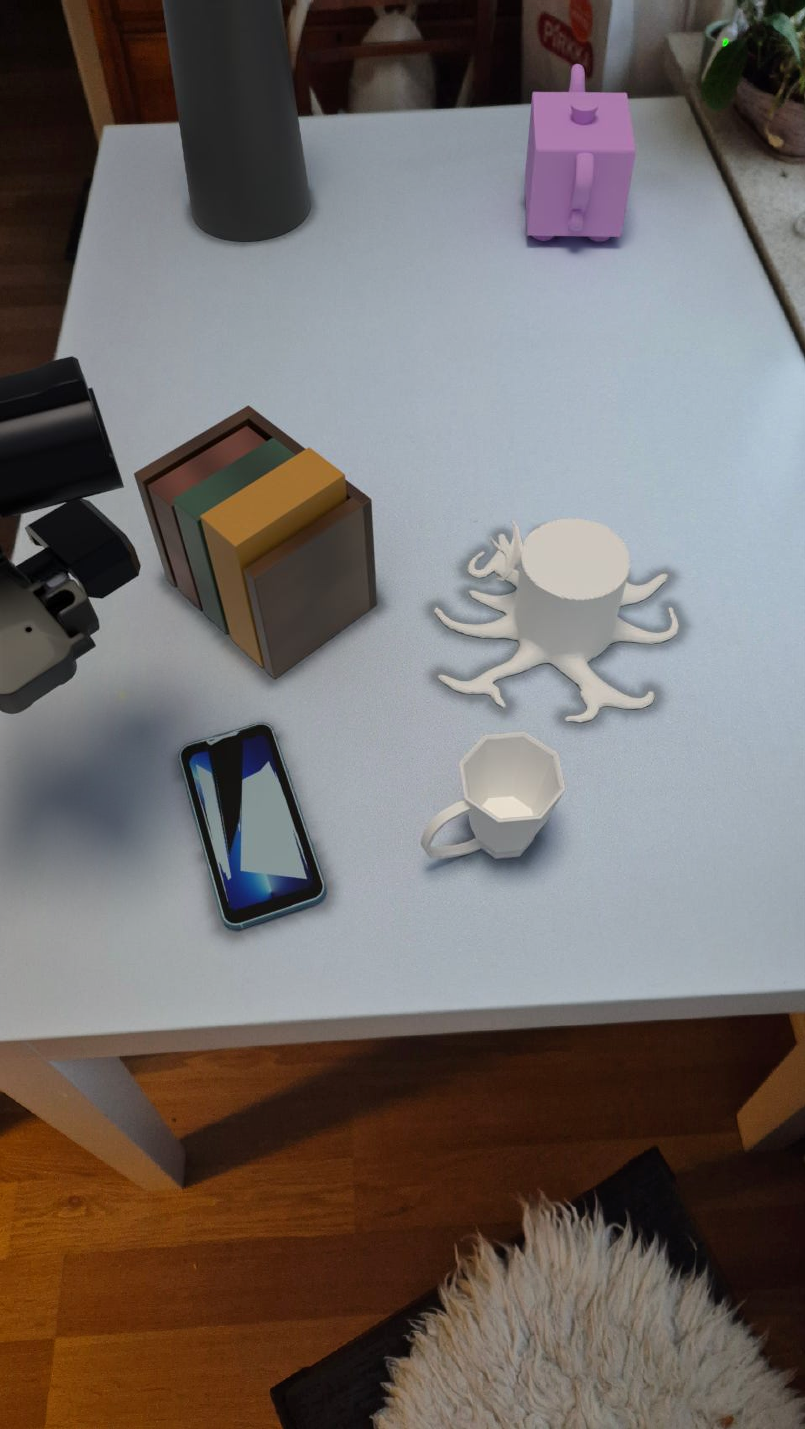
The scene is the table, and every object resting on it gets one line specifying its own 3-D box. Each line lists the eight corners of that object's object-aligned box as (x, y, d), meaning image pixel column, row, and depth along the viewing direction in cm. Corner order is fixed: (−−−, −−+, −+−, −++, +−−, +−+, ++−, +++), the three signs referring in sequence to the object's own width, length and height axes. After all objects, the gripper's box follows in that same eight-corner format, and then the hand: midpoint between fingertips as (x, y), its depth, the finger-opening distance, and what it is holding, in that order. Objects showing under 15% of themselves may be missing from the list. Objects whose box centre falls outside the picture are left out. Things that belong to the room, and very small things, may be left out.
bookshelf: (274, 679, 79) (251, 569, 68) (166, 579, 85) (129, 463, 74) (377, 604, 83) (371, 488, 72) (267, 513, 89) (246, 394, 78)
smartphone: (224, 930, 67) (174, 747, 75) (226, 935, 68) (177, 753, 75) (330, 895, 68) (270, 718, 76) (331, 900, 69) (272, 725, 77)
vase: (208, 172, 120) (155, -131, 96) (320, 179, 119) (295, -126, 95) (178, 237, 113) (113, -73, 89) (297, 245, 112) (264, -67, 88)
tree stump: (521, 505, 89) (529, 433, 83) (722, 601, 83) (749, 532, 76) (389, 654, 80) (386, 587, 74) (602, 774, 74) (621, 714, 67)
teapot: (620, 264, 109) (641, 145, 99) (526, 262, 109) (537, 144, 99) (607, 165, 120) (626, 49, 110) (522, 164, 120) (532, 48, 110)
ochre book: (262, 668, 80) (234, 546, 68) (231, 639, 82) (199, 515, 70) (355, 600, 84) (345, 474, 72) (324, 574, 85) (309, 446, 74)
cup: (572, 849, 71) (588, 794, 64) (448, 913, 68) (450, 862, 62) (519, 773, 74) (529, 713, 68) (399, 831, 72) (397, 775, 65)
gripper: (-180, 730, 44) (-44, 877, 57) (166, 515, 51) (217, 690, 64) (-284, 590, 49) (-135, 756, 62) (47, 410, 56) (118, 593, 69)
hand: (23, 698), depth 64 cm, fingers closed
